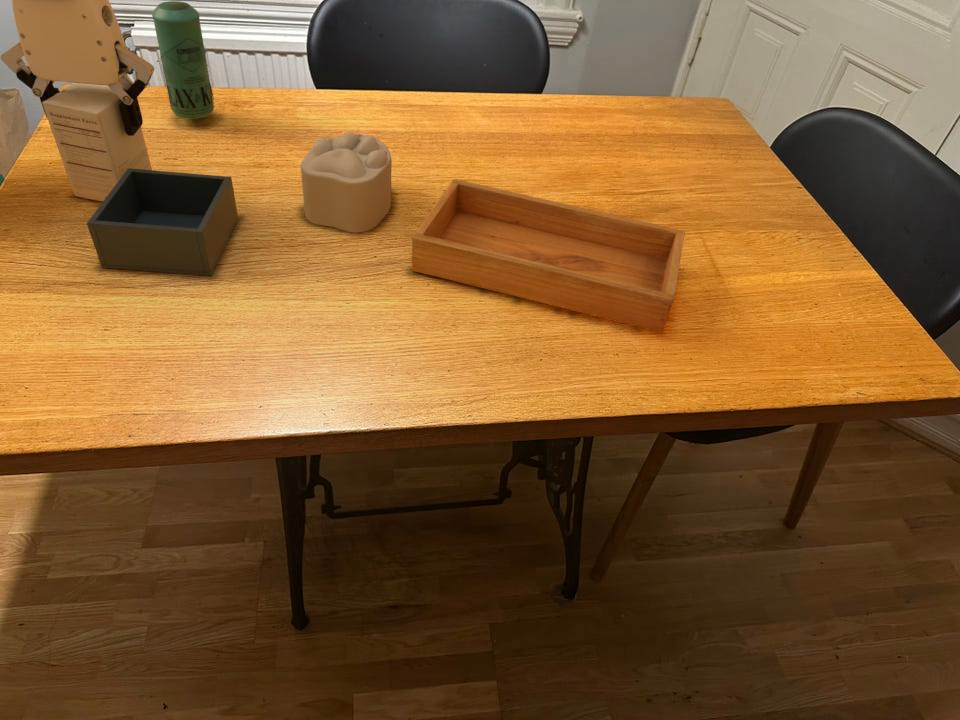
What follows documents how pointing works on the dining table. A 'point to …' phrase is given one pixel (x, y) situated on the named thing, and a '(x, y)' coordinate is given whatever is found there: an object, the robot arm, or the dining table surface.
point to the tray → (551, 253)
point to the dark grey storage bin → (164, 222)
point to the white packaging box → (93, 139)
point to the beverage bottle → (183, 59)
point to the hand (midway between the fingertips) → (97, 127)
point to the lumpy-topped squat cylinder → (347, 182)
